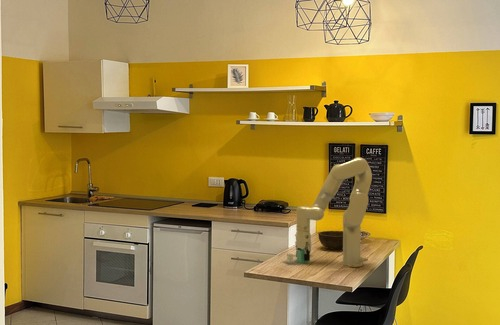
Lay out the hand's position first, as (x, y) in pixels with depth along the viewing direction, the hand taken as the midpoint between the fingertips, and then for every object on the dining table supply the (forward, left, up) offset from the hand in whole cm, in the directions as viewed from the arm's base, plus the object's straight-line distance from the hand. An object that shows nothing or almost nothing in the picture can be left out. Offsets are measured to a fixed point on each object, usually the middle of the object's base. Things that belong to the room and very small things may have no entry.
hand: (302, 259), depth 327 cm
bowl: (-39, -32, -3) cm, 51 cm away
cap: (0, 0, -2) cm, 2 cm away
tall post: (+8, 0, -2) cm, 8 cm away
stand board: (+4, 0, -3) cm, 5 cm away
